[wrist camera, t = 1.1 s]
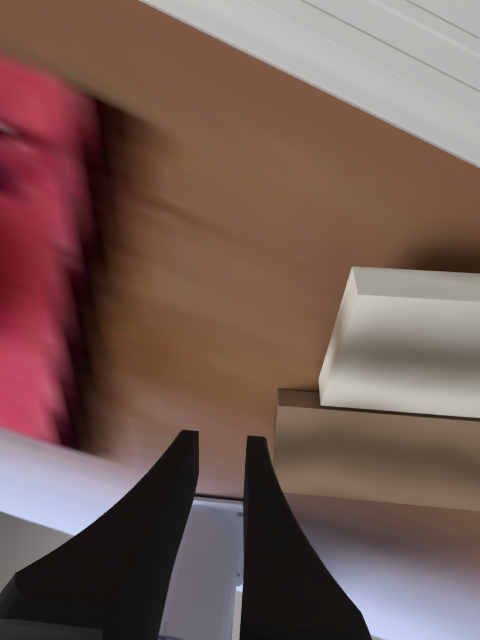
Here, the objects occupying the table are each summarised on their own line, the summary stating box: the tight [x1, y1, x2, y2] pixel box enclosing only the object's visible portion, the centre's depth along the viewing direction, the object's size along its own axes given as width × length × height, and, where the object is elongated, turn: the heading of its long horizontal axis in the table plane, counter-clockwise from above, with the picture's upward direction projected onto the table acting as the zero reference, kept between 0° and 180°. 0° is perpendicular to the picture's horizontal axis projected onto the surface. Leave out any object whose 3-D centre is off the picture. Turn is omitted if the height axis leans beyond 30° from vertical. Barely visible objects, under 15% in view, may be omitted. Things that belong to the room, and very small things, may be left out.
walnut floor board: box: [271, 389, 480, 511], centre depth 23 cm, size 7×16×2 cm, turn 88°
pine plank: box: [319, 267, 480, 418], centre depth 18 cm, size 9×11×2 cm
